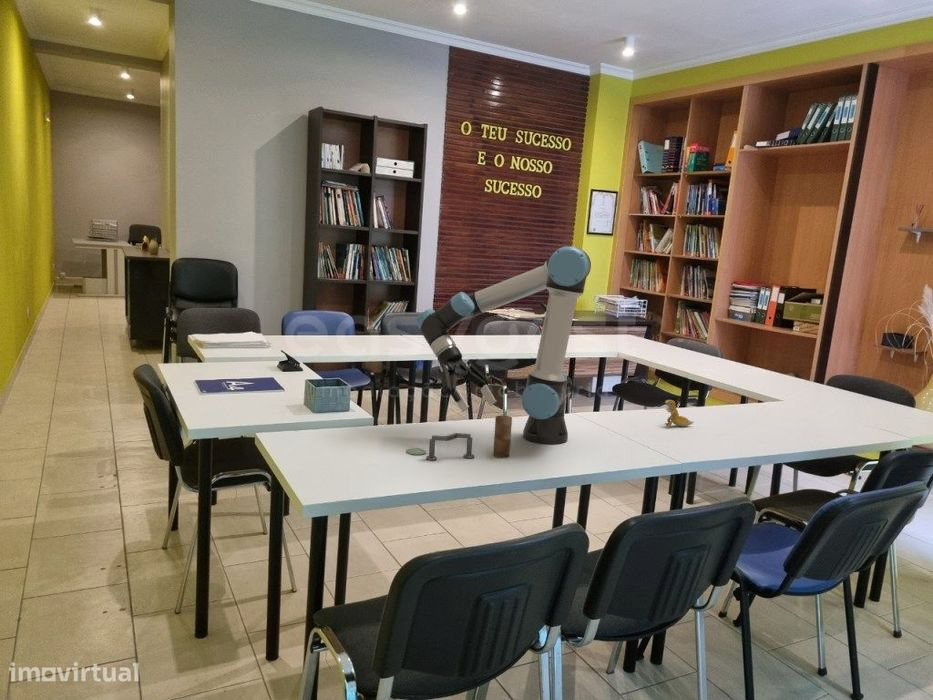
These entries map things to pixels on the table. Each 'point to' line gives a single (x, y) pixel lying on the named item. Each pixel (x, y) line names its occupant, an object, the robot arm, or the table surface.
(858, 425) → the table surface
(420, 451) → the pad
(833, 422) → the table surface
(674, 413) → the toy
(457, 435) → the grey bent handle
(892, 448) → the table surface
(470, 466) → the table surface
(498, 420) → the dowel
